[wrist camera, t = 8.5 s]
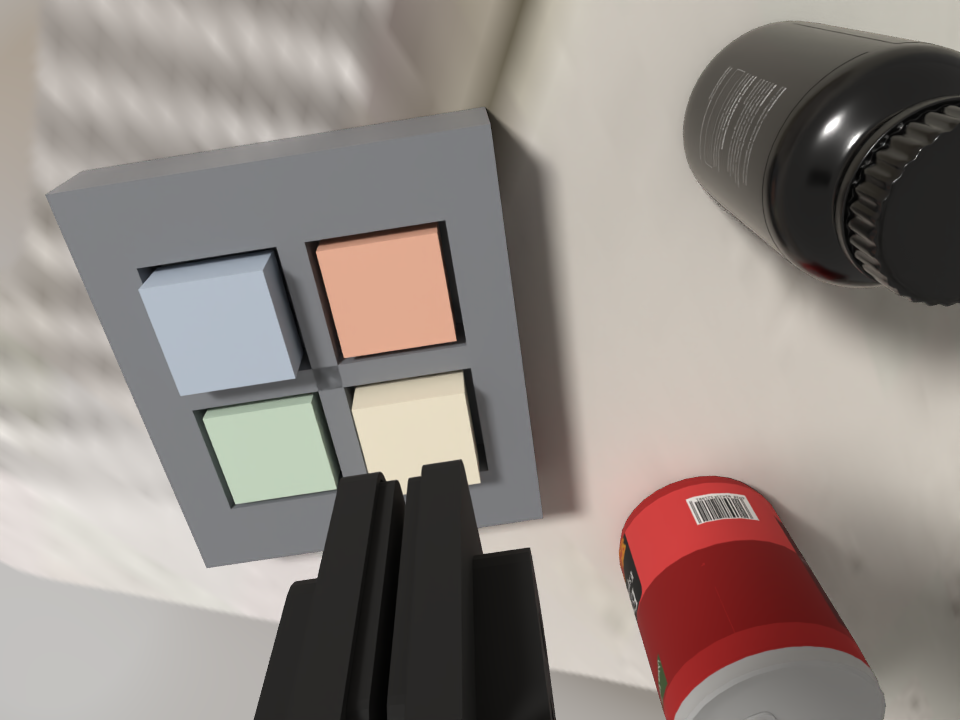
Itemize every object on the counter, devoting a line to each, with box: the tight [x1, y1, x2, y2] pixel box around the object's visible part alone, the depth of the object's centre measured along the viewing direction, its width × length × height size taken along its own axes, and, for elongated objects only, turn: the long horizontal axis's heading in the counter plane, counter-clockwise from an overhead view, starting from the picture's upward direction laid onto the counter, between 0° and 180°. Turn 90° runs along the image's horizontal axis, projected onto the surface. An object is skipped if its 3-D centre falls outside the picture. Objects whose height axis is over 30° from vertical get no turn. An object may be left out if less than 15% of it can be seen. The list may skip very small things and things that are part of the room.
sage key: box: [203, 391, 340, 504], centre depth 31 cm, size 4×4×2 cm
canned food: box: [619, 476, 886, 720], centre depth 33 cm, size 8×8×11 cm
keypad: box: [46, 107, 543, 568], centre depth 30 cm, size 17×15×3 cm
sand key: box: [352, 369, 481, 495], centre depth 30 cm, size 4×4×2 cm
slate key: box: [138, 250, 304, 396], centre depth 28 cm, size 4×4×2 cm
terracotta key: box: [316, 221, 457, 358], centre depth 28 cm, size 4×4×2 cm
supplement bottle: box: [683, 21, 960, 306], centre depth 23 cm, size 7×7×12 cm
